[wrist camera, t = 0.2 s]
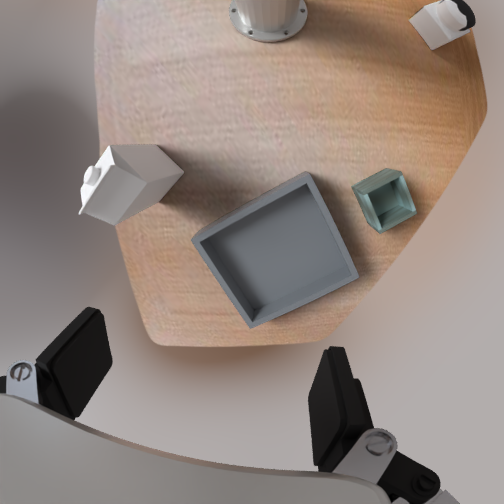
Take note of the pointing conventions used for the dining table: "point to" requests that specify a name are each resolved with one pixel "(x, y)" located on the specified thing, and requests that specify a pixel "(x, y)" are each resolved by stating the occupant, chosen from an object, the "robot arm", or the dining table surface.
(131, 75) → the dining table surface
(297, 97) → the dining table surface
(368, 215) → the teal crate
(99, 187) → the milk carton
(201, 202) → the dining table surface
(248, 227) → the charcoal crate
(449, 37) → the medicine bottle
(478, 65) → the dining table surface
